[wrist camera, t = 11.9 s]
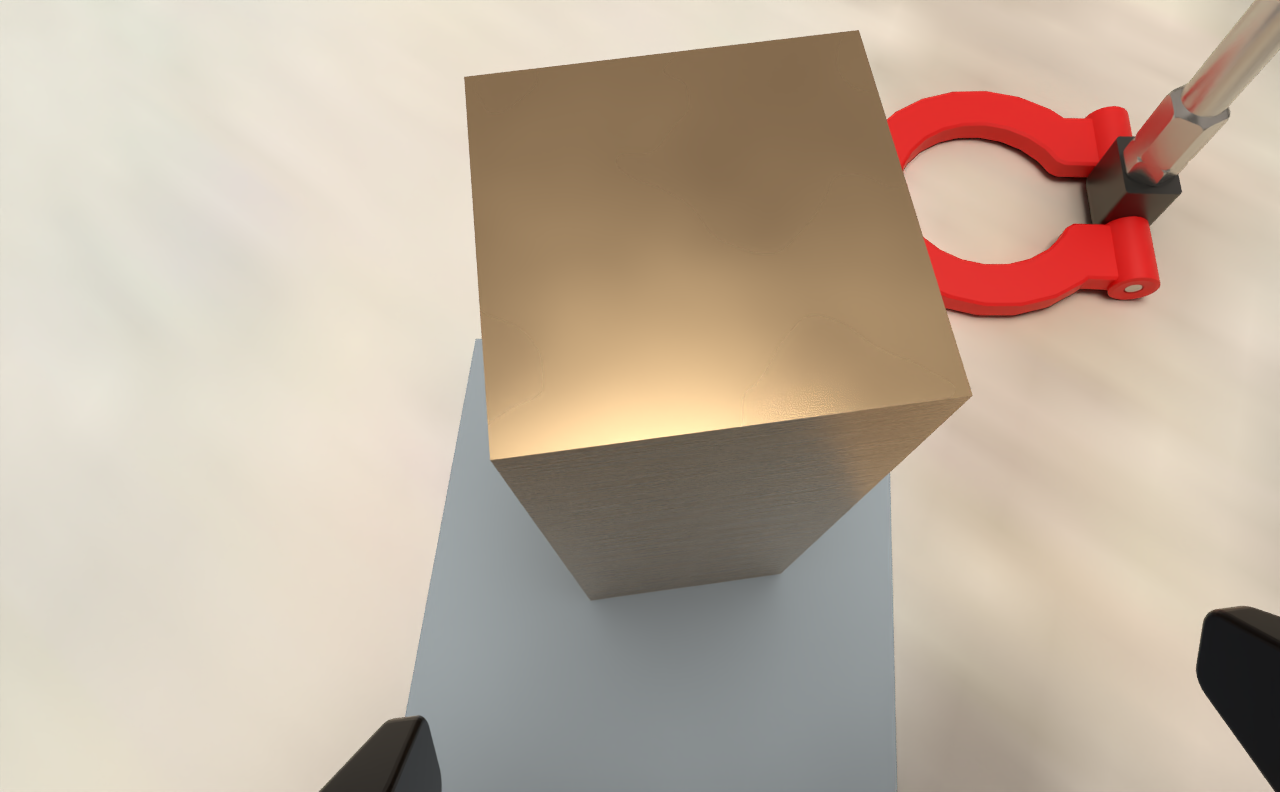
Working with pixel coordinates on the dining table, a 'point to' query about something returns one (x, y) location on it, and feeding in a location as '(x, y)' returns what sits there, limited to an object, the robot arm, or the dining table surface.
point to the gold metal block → (700, 305)
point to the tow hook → (1089, 173)
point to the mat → (650, 659)
